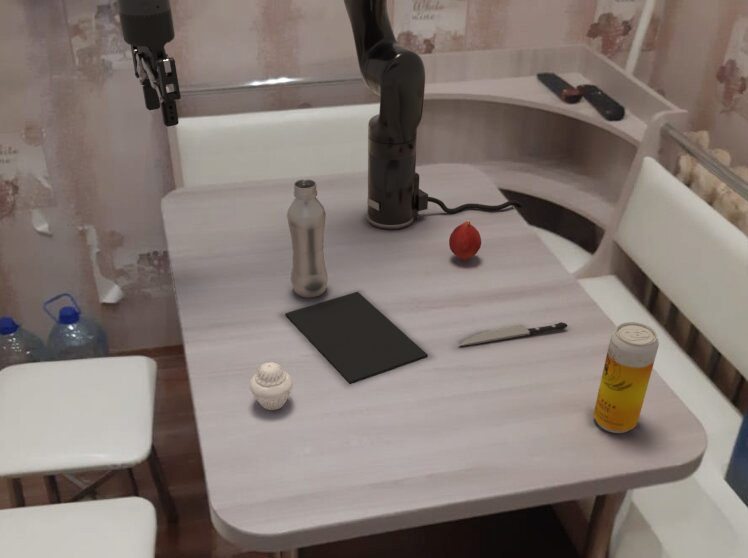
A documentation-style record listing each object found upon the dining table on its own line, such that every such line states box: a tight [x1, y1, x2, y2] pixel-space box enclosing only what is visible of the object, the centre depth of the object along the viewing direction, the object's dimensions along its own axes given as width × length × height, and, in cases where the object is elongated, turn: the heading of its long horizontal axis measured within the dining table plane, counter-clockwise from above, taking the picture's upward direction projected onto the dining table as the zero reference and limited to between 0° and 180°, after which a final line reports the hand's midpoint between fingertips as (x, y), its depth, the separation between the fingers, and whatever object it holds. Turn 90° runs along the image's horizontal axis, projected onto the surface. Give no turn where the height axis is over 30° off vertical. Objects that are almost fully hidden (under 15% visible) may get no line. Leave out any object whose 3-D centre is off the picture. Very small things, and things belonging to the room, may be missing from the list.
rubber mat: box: [284, 291, 428, 384], centre depth 133 cm, size 14×22×1 cm, turn 30°
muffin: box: [249, 361, 293, 411], centre depth 118 cm, size 6×6×7 cm
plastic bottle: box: [286, 178, 329, 298], centre depth 138 cm, size 6×7×20 cm
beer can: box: [593, 321, 660, 434], centre depth 112 cm, size 6×6×15 cm
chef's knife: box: [457, 321, 568, 347], centre depth 133 cm, size 19×1×3 cm
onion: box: [448, 219, 482, 261], centre depth 151 cm, size 6×6×8 cm
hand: (162, 116), depth 131 cm, fingers open, 8 cm apart
